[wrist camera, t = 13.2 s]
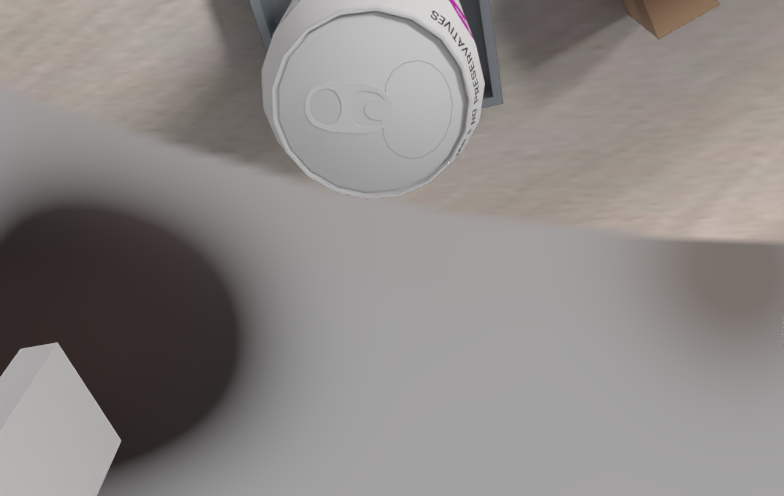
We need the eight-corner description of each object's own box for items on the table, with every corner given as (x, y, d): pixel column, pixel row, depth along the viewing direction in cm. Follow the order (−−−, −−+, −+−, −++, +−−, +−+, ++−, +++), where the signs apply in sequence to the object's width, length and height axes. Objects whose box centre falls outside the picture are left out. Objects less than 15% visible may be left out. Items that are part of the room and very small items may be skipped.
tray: (233, -84, 34) (224, -78, 32) (465, -142, 32) (469, -140, 31) (301, 131, 40) (296, 146, 38) (498, 89, 39) (503, 103, 37)
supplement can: (462, -70, 34) (504, -5, 21) (445, 88, 38) (472, 218, 26) (302, -81, 33) (247, -22, 21) (304, 79, 38) (260, 208, 25)
